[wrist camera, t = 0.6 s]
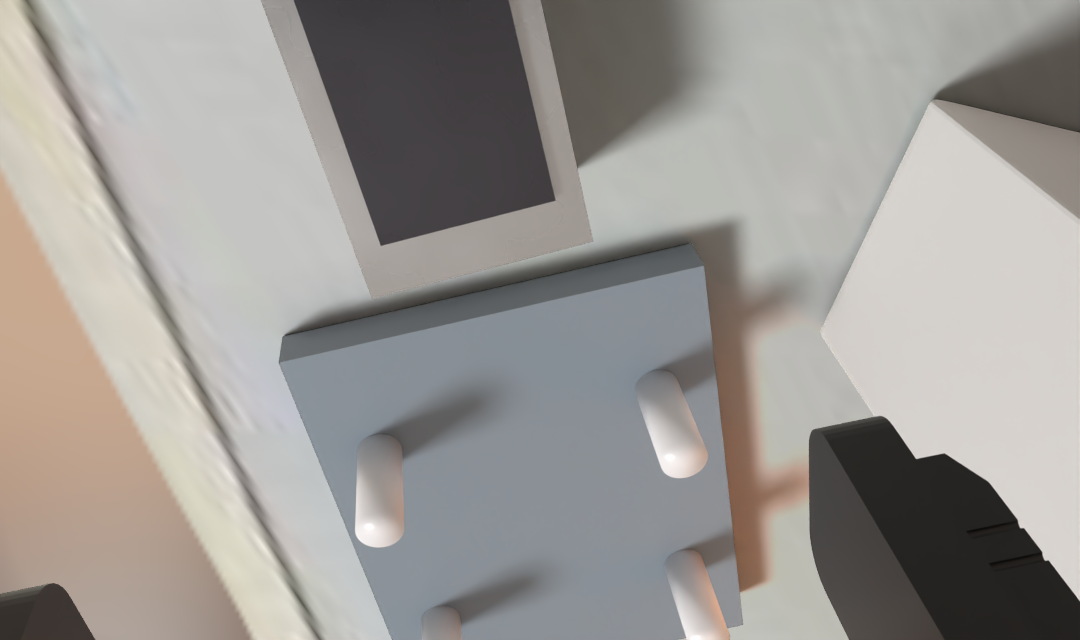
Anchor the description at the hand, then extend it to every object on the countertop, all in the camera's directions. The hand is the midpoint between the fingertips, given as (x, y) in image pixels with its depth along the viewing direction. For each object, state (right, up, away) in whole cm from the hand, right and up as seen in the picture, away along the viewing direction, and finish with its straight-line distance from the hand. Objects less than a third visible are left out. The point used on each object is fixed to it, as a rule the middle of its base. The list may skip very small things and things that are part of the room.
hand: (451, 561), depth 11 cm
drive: (-2, +9, +12) cm, 15 cm away
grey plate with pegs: (+1, -2, +20) cm, 20 cm away
